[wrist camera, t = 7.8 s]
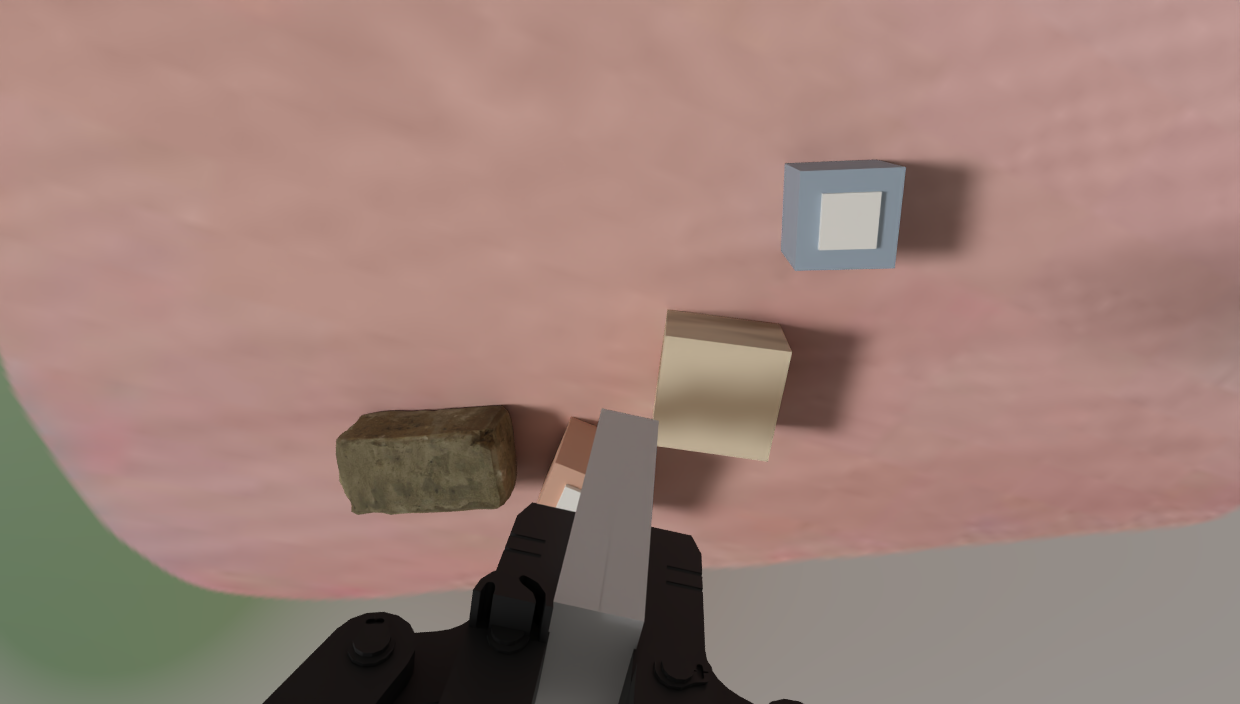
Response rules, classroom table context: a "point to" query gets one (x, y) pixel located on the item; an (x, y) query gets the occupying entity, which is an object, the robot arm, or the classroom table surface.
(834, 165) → the slate block
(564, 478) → the terracotta block
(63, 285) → the classroom table surface
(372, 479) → the stone block
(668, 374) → the oak block
